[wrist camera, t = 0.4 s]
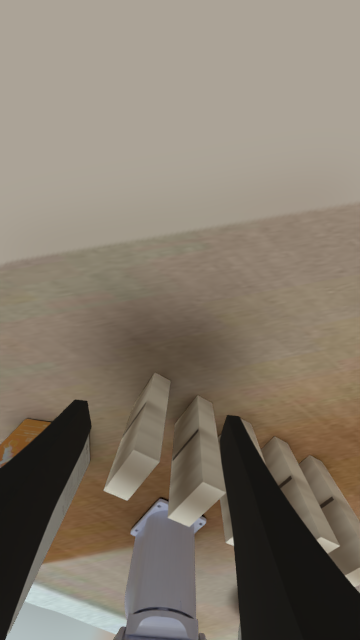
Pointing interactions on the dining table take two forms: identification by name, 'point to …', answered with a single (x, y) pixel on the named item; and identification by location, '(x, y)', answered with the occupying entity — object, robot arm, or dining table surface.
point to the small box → (14, 446)
